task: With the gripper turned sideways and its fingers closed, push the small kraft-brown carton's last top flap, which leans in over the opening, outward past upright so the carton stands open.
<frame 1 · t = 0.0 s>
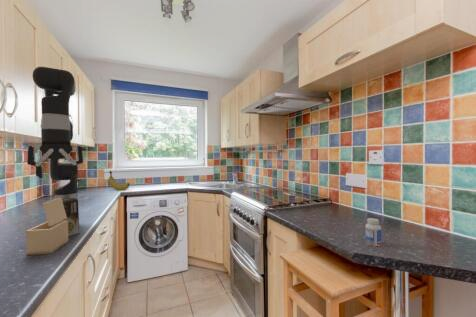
hand: (57, 177, 73), 29 cm above the worktop, tool pointing down, fingers open, 8 cm apart
carton flap: (55, 210, 86), point 15 cm above the worktop, hinge at -12.0°
banana: (119, 190, 226), on the worktop
coffee box: (65, 235, 100), on the worktop
pill bottle: (373, 244, 87), on the worktop
carton: (49, 247, 86), on the worktop
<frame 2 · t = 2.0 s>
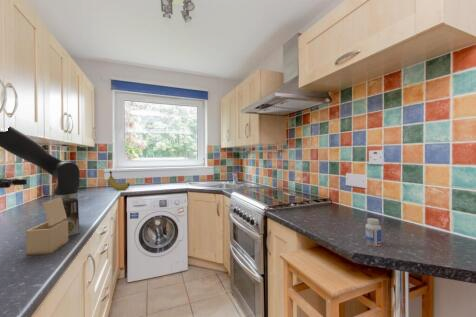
hand: (18, 183, 84), 26 cm above the worktop, tool horizontal, fingers open, 7 cm apart
nothing on the worktop moved.
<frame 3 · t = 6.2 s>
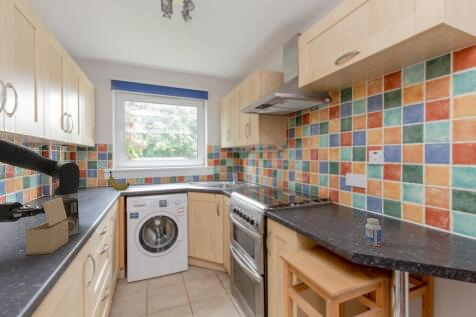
hand: (53, 209, 86), 15 cm above the worktop, tool horizontal, fingers closed
carton flap: (55, 210, 86), point 15 cm above the worktop, hinge at -11.3°, touching gripper
everything else where it was.
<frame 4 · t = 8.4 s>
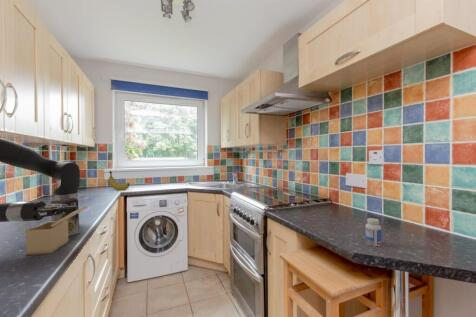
hand: (76, 208, 87), 15 cm above the worktop, tool horizontal, fingers closed
carton flap: (70, 215, 87), point 12 cm above the worktop, hinge at 58.5°, touching gripper
everything else where it was.
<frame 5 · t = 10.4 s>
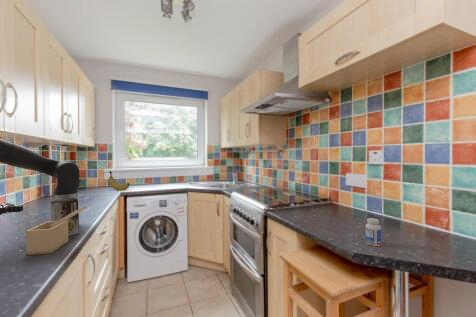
hand: (21, 208, 84), 16 cm above the worktop, tool horizontal, fingers closed
carton flap: (70, 215, 87), point 12 cm above the worktop, hinge at 58.6°
everything else where it was.
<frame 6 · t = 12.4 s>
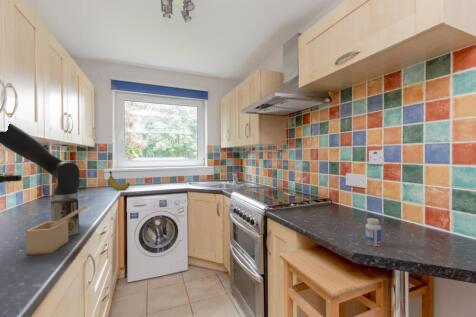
hand: (20, 178, 84), 28 cm above the worktop, tool horizontal, fingers closed
nothing on the worktop moved.
at the end: carton flap at +59° (first picture: -12°); coffee box moved 0.2 cm from its start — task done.
